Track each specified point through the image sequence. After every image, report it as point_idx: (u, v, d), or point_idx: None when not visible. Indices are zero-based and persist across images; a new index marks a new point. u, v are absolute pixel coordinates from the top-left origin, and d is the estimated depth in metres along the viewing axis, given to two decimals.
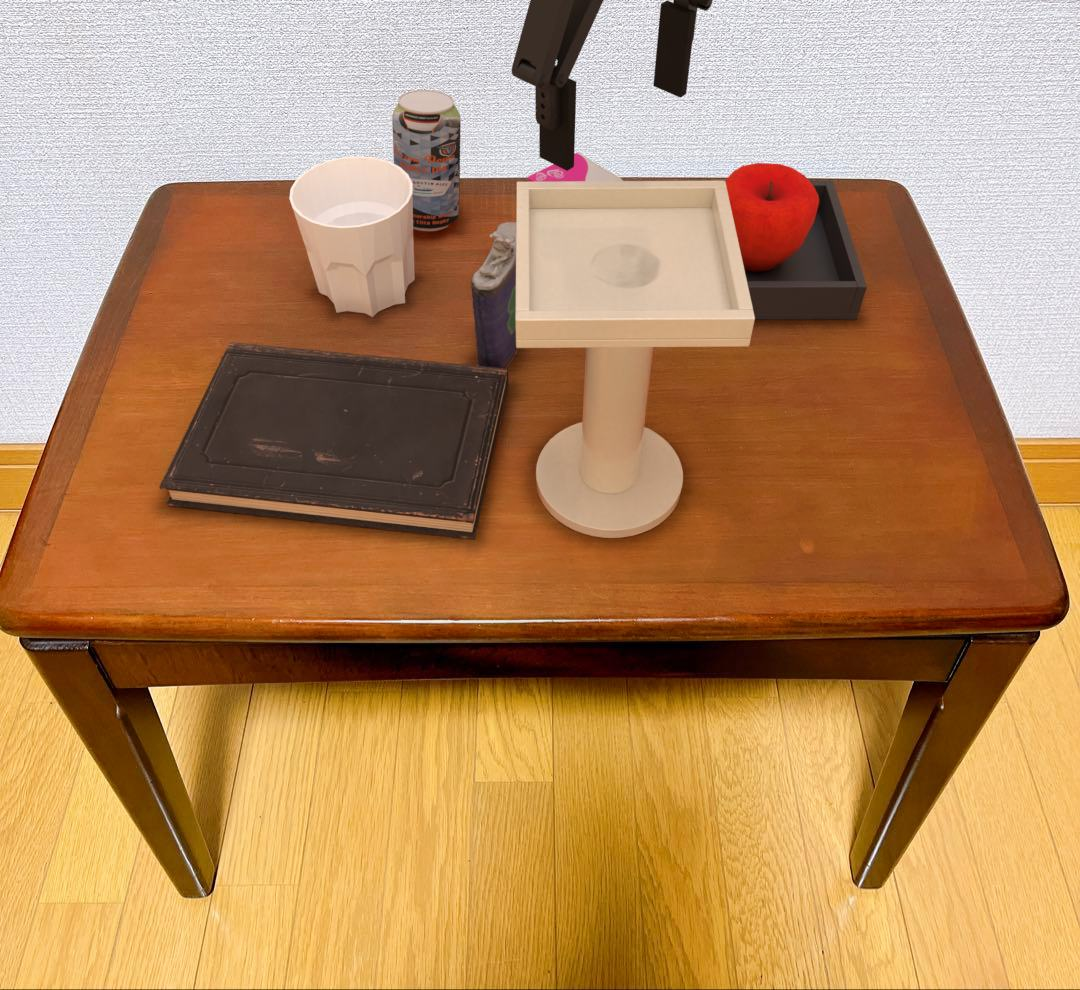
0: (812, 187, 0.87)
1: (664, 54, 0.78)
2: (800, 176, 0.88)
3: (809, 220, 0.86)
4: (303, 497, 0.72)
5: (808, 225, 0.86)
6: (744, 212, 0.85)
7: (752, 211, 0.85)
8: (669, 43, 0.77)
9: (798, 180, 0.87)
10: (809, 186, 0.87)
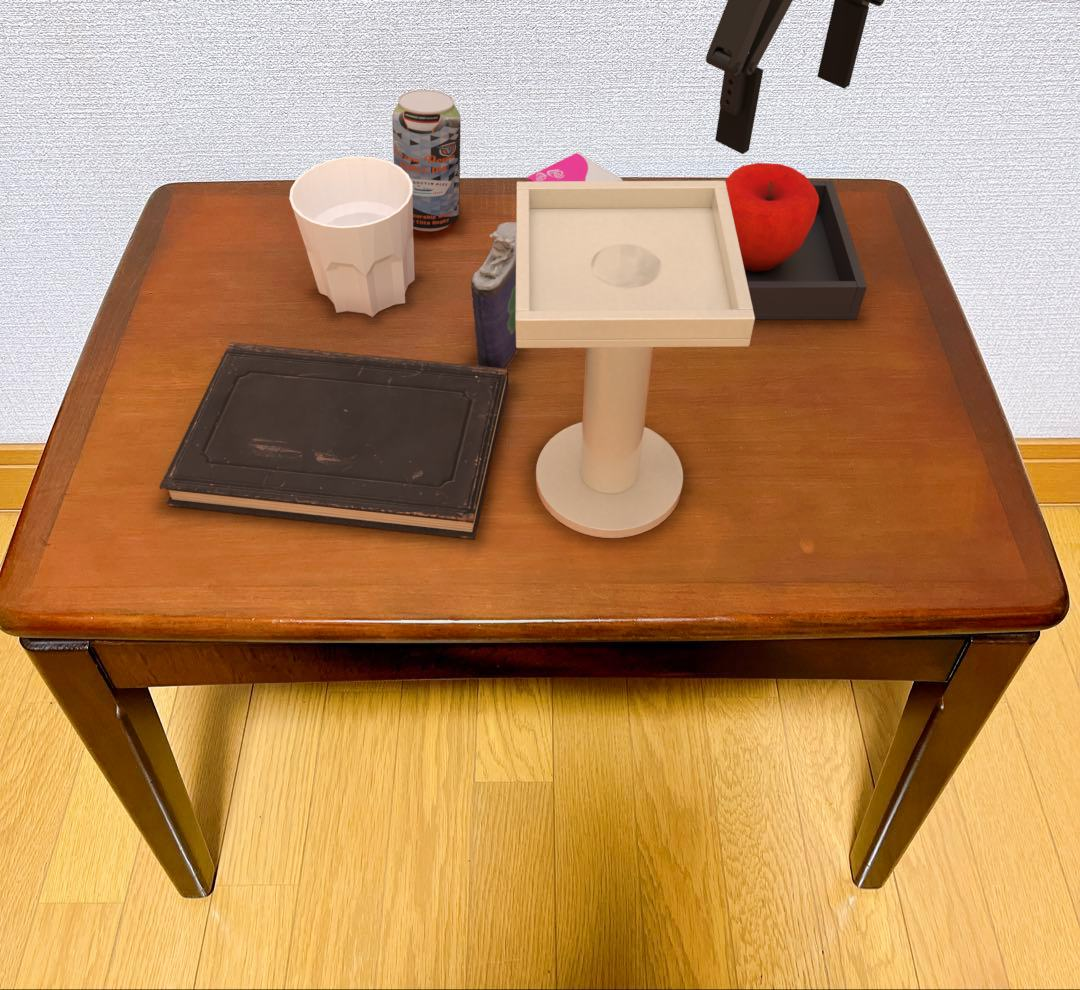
0: (812, 187, 0.87)
1: (832, 46, 0.82)
2: (800, 176, 0.88)
3: (809, 220, 0.86)
4: (303, 497, 0.72)
5: (808, 225, 0.86)
6: (744, 212, 0.85)
7: (752, 211, 0.85)
8: (839, 36, 0.81)
9: (798, 180, 0.87)
10: (809, 186, 0.87)
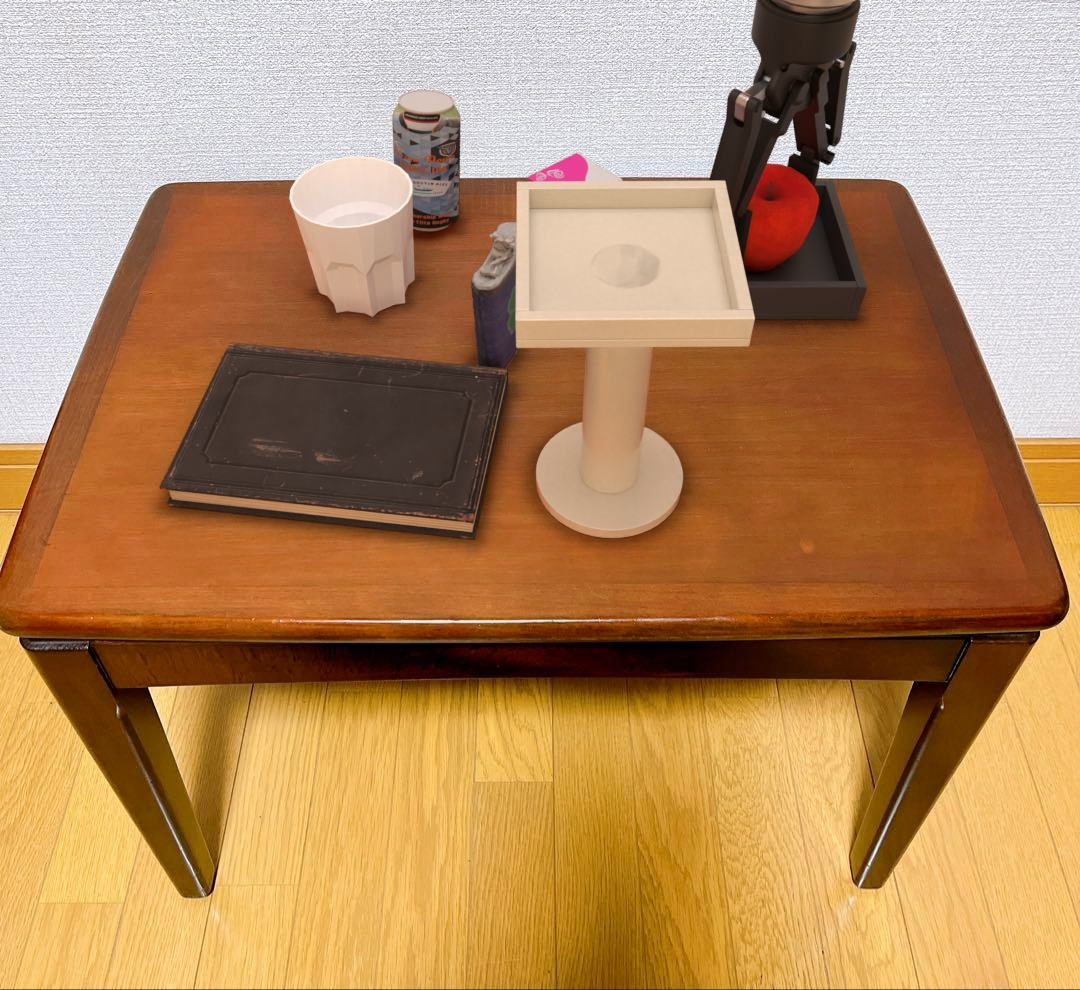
0: (812, 187, 0.87)
1: None
2: (800, 176, 0.88)
3: (809, 220, 0.86)
4: (303, 497, 0.72)
5: (808, 225, 0.86)
6: None
7: None
8: None
9: (797, 181, 0.87)
10: (809, 187, 0.87)
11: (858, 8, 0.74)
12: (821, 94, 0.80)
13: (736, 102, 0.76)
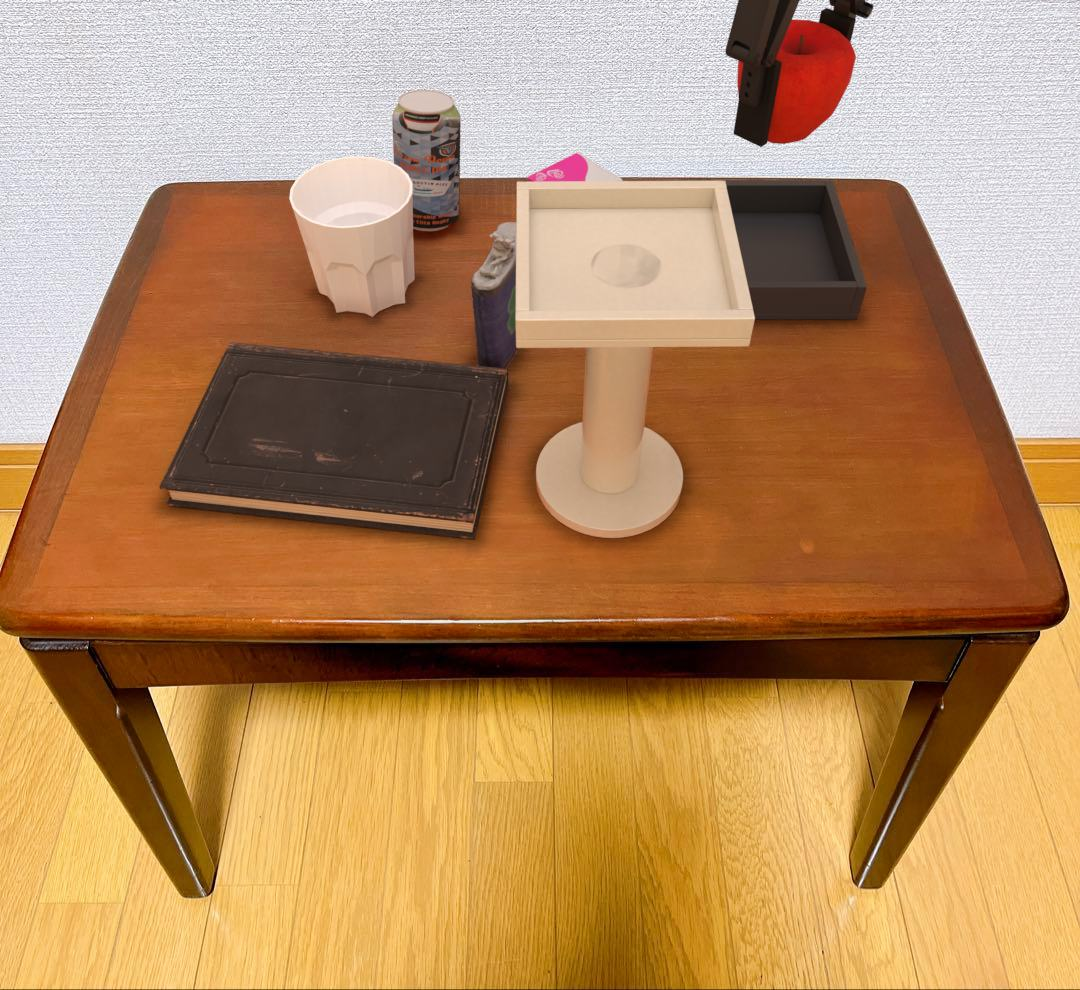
0: (848, 42, 0.77)
1: None
2: (833, 30, 0.78)
3: (846, 77, 0.76)
4: (303, 497, 0.72)
5: (844, 82, 0.76)
6: None
7: None
8: None
9: (831, 35, 0.77)
10: (844, 41, 0.77)
11: None
12: None
13: None
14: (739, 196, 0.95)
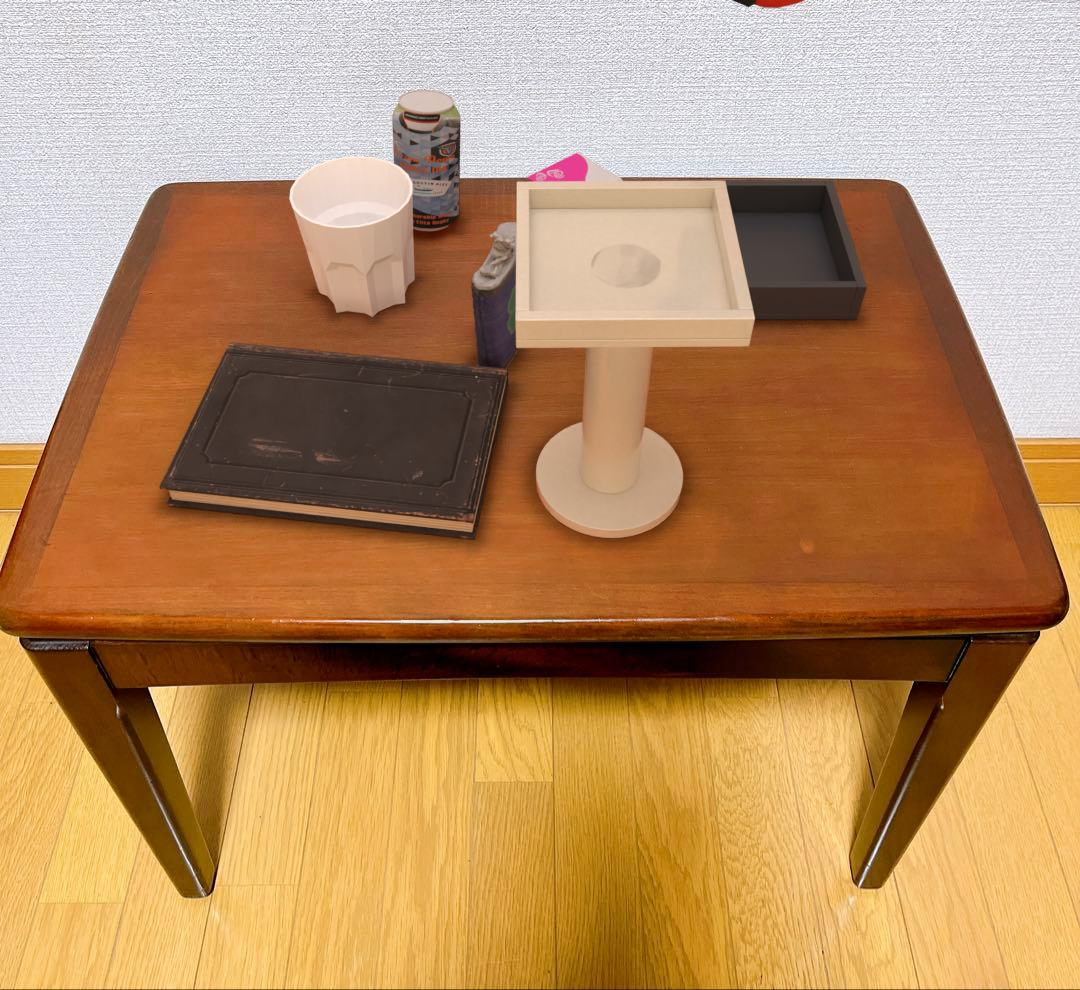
0: None
1: None
2: None
3: None
4: (303, 497, 0.72)
5: None
6: None
7: None
8: None
9: None
10: None
11: None
12: None
13: None
14: (739, 196, 0.95)
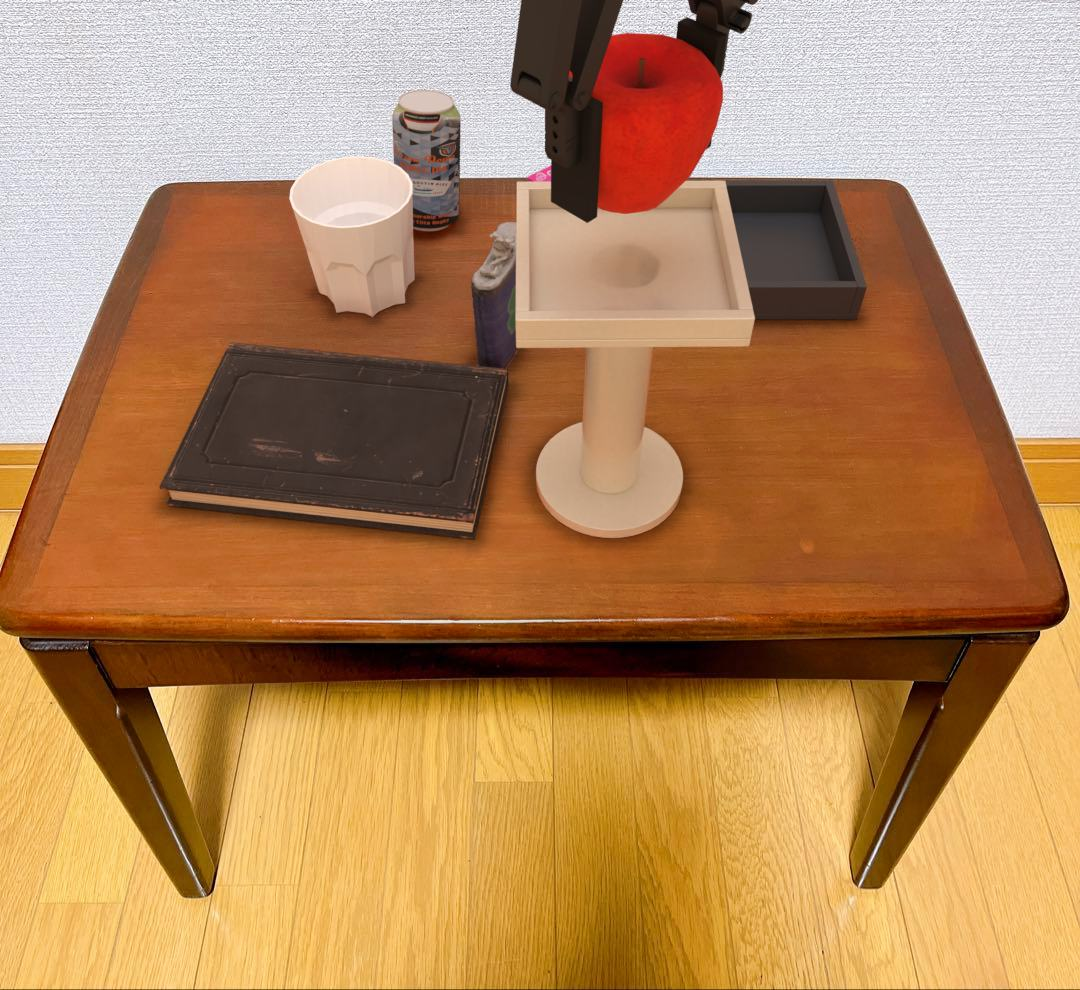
0: (711, 68, 0.52)
1: None
2: (692, 50, 0.52)
3: (705, 121, 0.51)
4: (303, 497, 0.72)
5: (703, 130, 0.51)
6: None
7: (604, 103, 0.49)
8: None
9: (688, 58, 0.52)
10: (706, 66, 0.51)
11: None
12: None
13: None
14: (739, 196, 0.95)
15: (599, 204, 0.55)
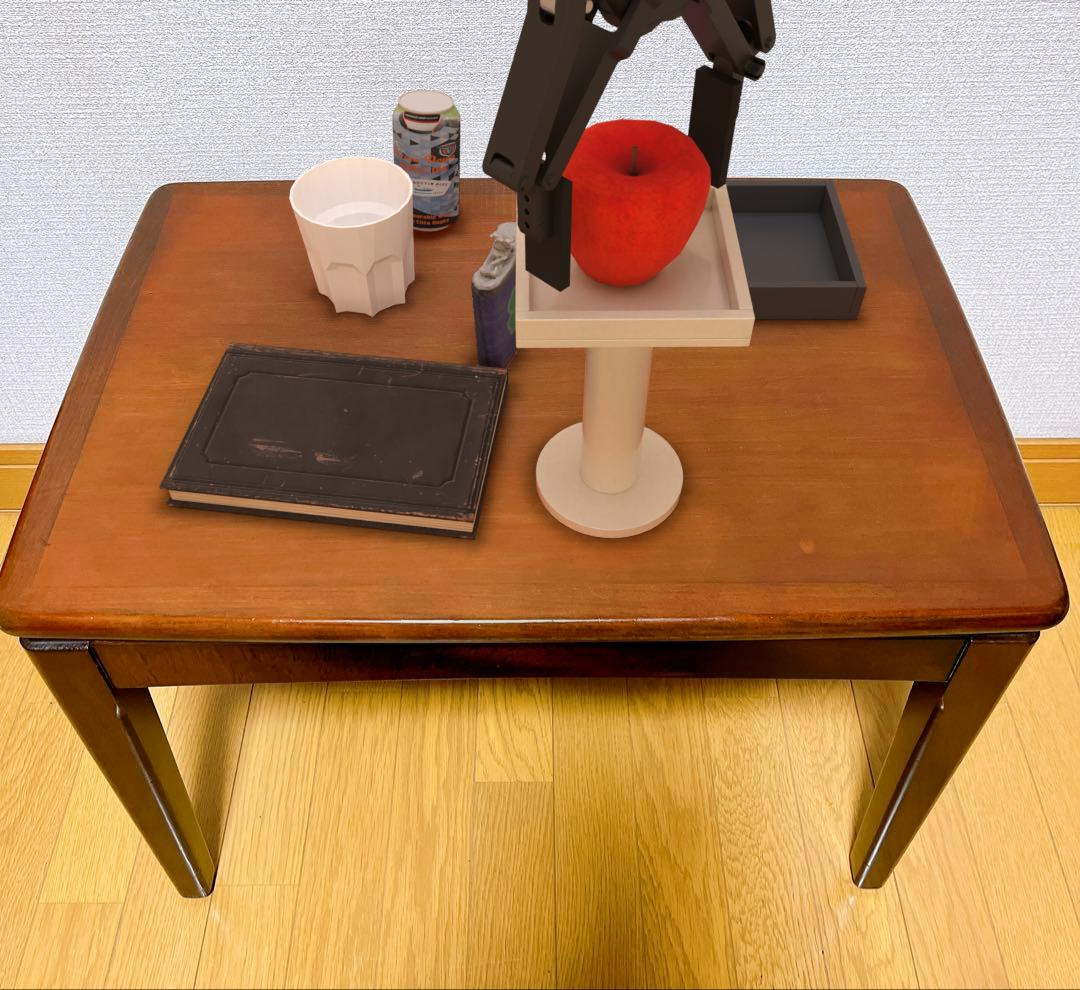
0: (700, 155, 0.55)
1: (698, 133, 0.60)
2: (682, 137, 0.56)
3: (694, 207, 0.54)
4: (303, 497, 0.72)
5: (692, 214, 0.54)
6: (588, 194, 0.53)
7: (599, 192, 0.53)
8: (706, 120, 0.59)
9: (678, 145, 0.56)
10: (695, 154, 0.55)
11: None
12: None
13: None
14: (739, 196, 0.95)
15: (595, 278, 0.59)
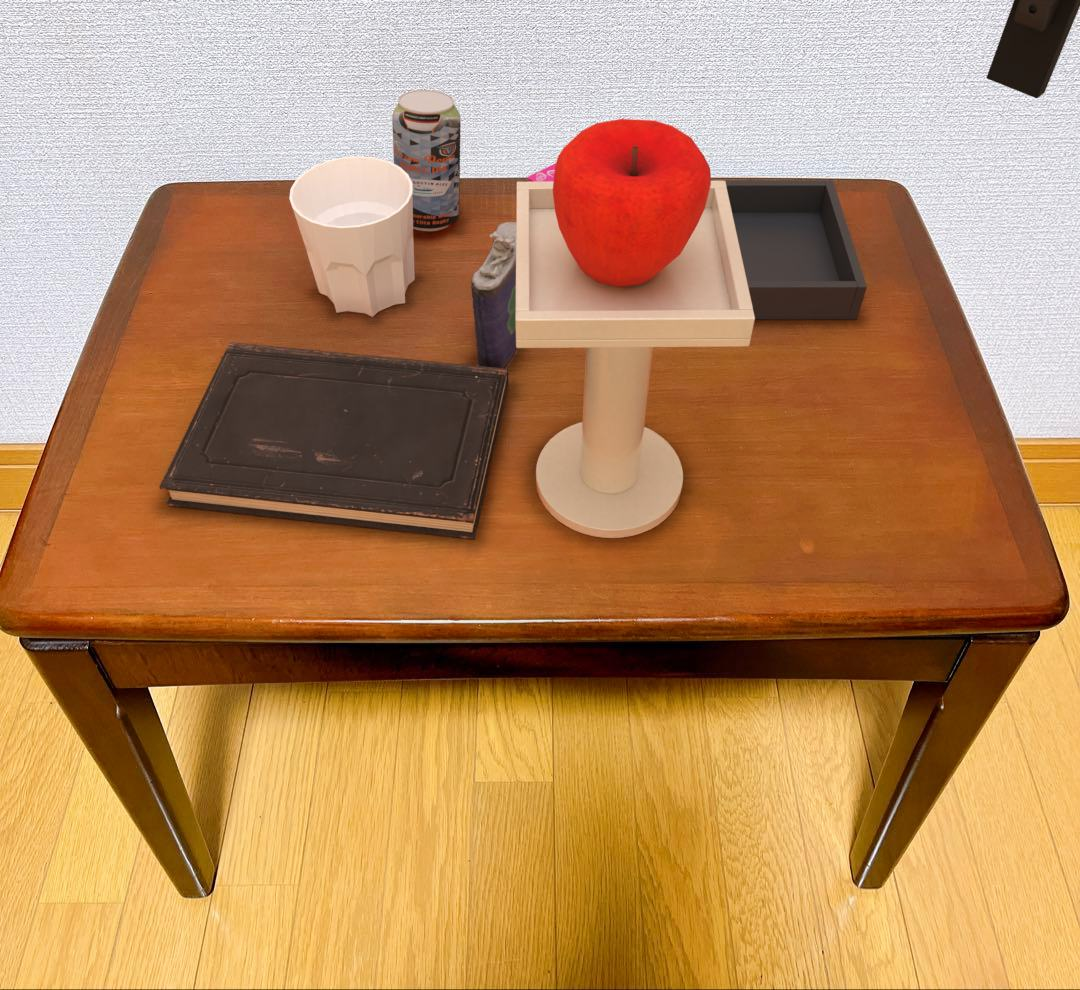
0: (700, 155, 0.55)
1: None
2: (682, 138, 0.56)
3: (694, 207, 0.54)
4: (303, 497, 0.72)
5: (692, 214, 0.54)
6: (588, 194, 0.53)
7: (599, 192, 0.53)
8: None
9: (678, 145, 0.56)
10: (695, 154, 0.55)
11: None
12: None
13: None
14: (739, 196, 0.95)
15: (595, 278, 0.59)
